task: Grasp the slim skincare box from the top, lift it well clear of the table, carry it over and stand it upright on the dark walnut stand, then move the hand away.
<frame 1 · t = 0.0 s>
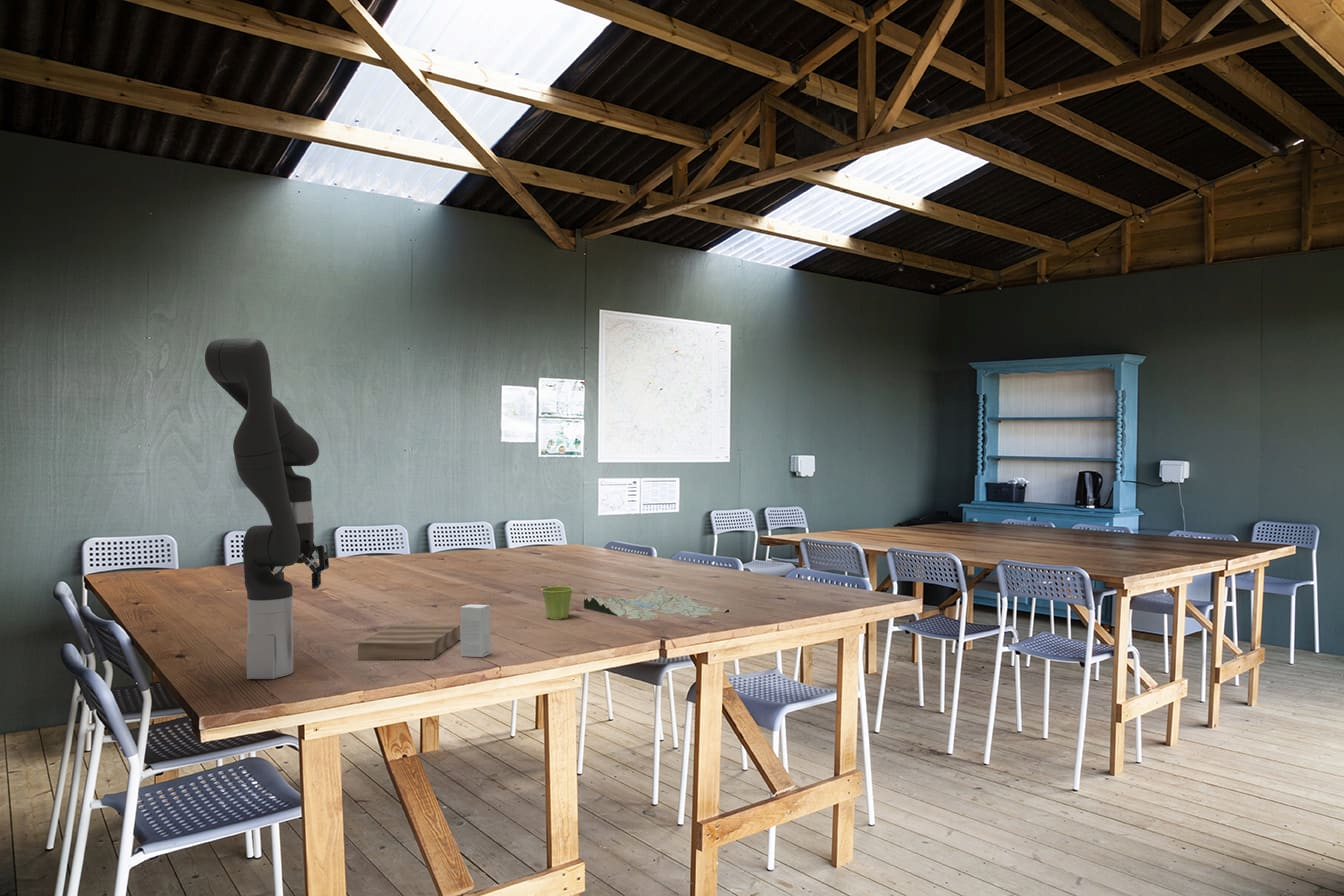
hand: (298, 588, 210), 17 cm above the table, tool pointing down, fingers open, 8 cm apart
topographic map model: (655, 612, 272), on the table
skincare box: (475, 656, 213), on the table
plant pot: (557, 618, 260), on the table
walnut stand: (411, 649, 220), on the table
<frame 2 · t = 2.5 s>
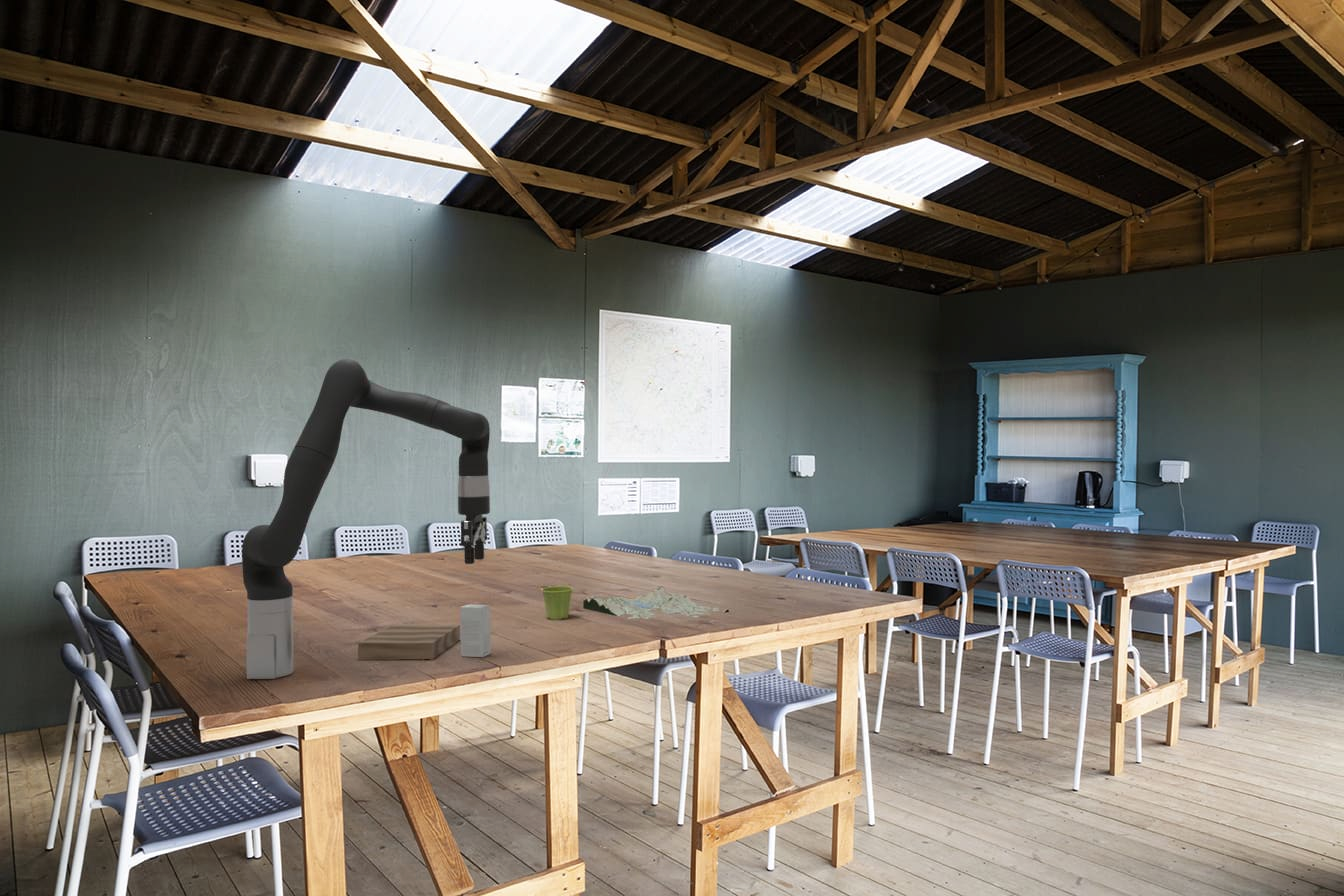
hand: (474, 561, 213), 23 cm above the table, tool pointing down, fingers open, 8 cm apart
nothing on the table moved.
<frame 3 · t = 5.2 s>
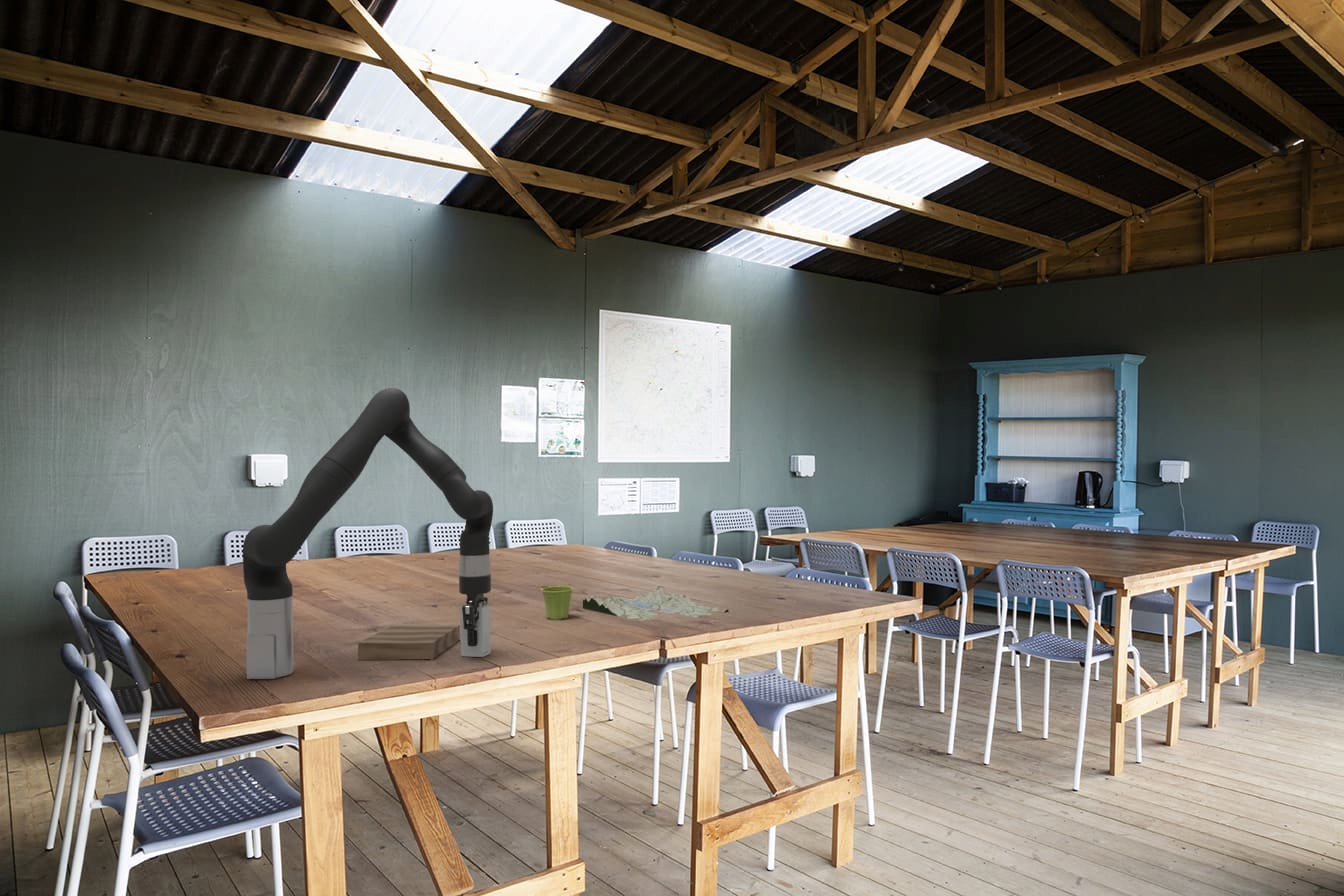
hand: (475, 643, 213), 3 cm above the table, tool pointing down, fingers closed on skincare box, 4 cm apart
skincare box: (475, 655, 213), on the table, touching gripper
everything else where it was.
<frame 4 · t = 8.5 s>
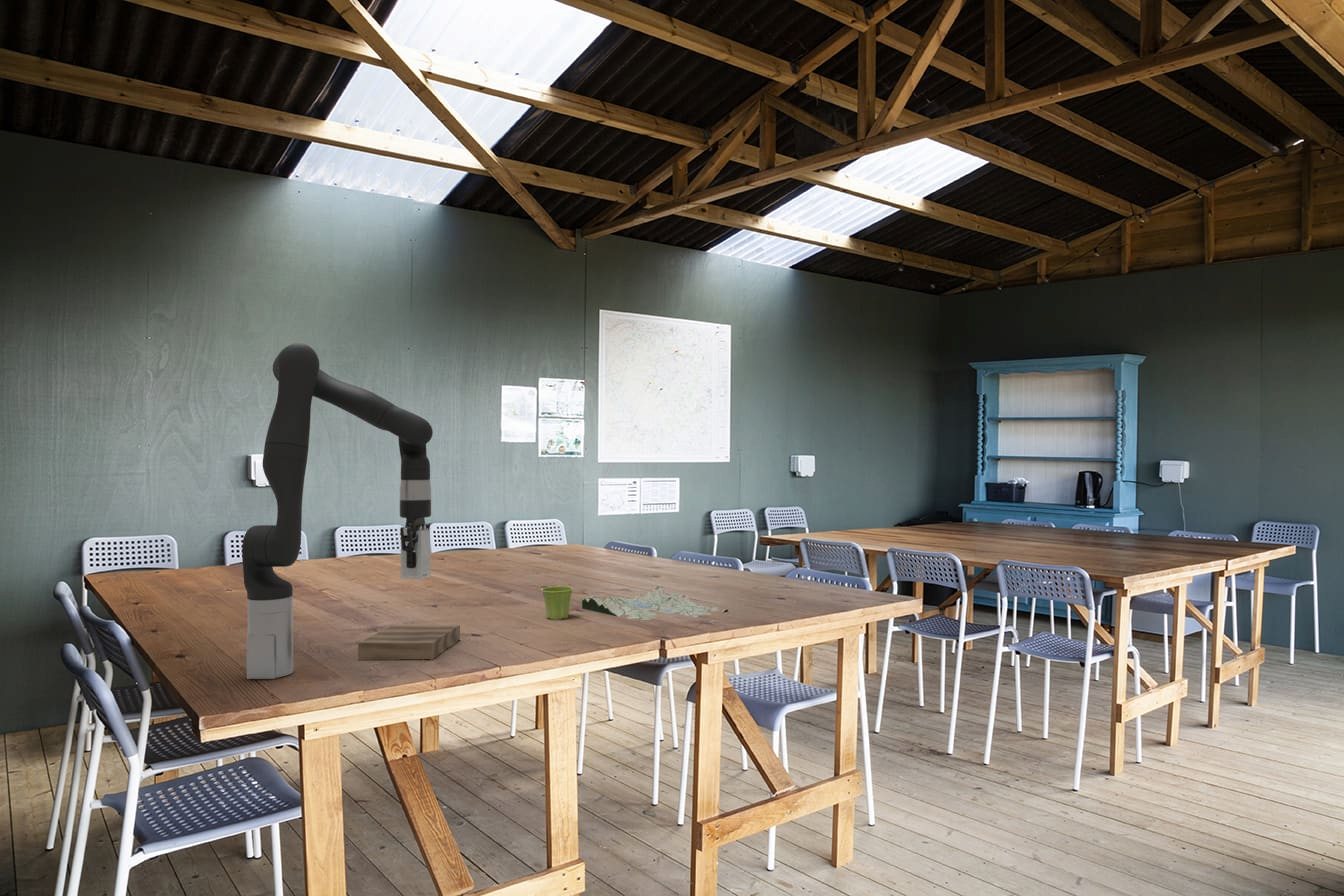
hand: (415, 566, 219), 21 cm above the table, tool pointing down, fingers closed on skincare box, 4 cm apart
skincare box: (415, 578, 219), point 18 cm above the table, touching gripper
everything else where it was.
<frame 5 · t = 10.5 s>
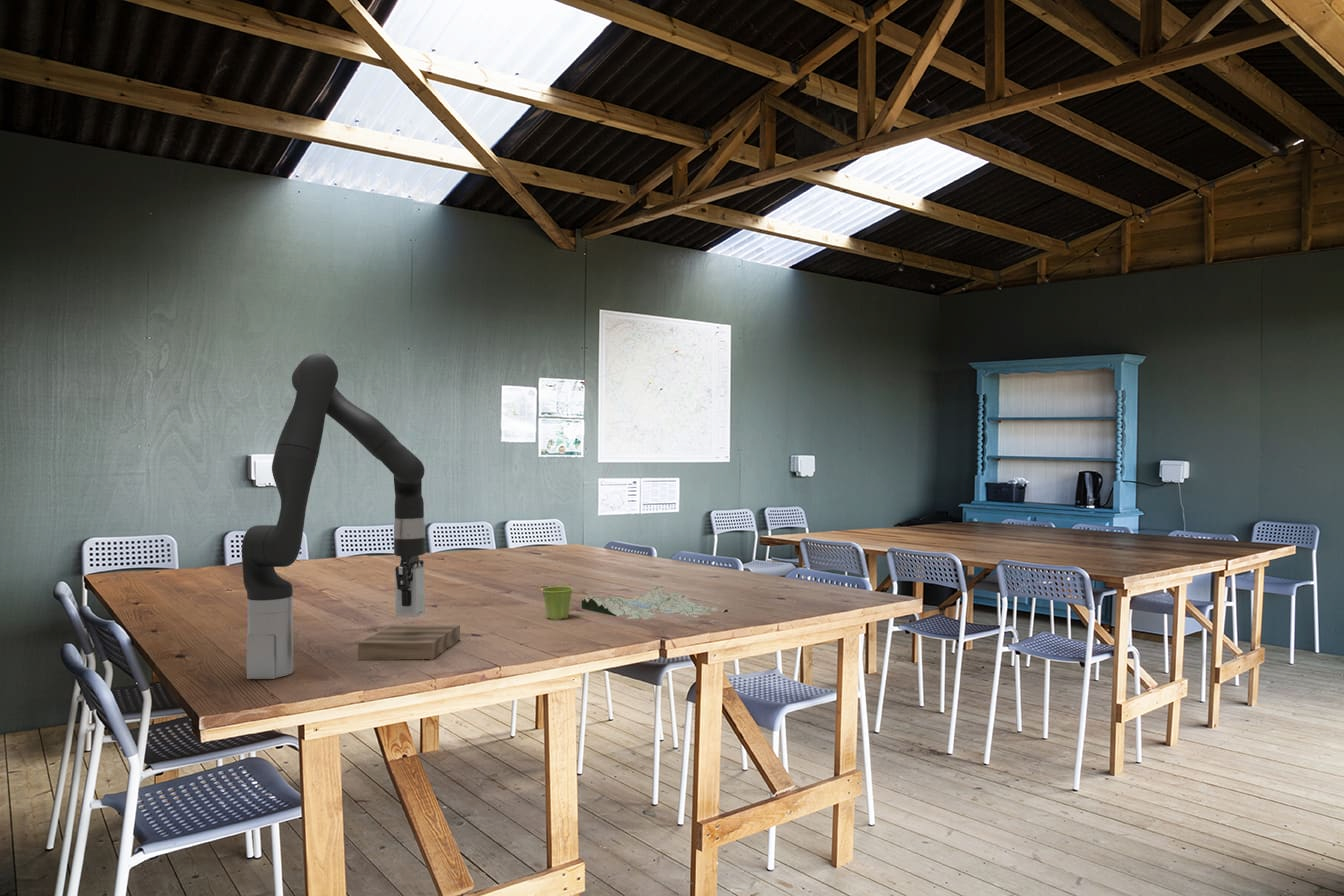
hand: (410, 603, 220), 11 cm above the table, tool pointing down, fingers closed on skincare box, 4 cm apart
skincare box: (410, 616, 220), point 8 cm above the table, touching gripper
everything else where it was.
when the fingers open (8 cm above the table, at t = 12.0 s): skincare box drops 1 cm, resting on walnut stand.
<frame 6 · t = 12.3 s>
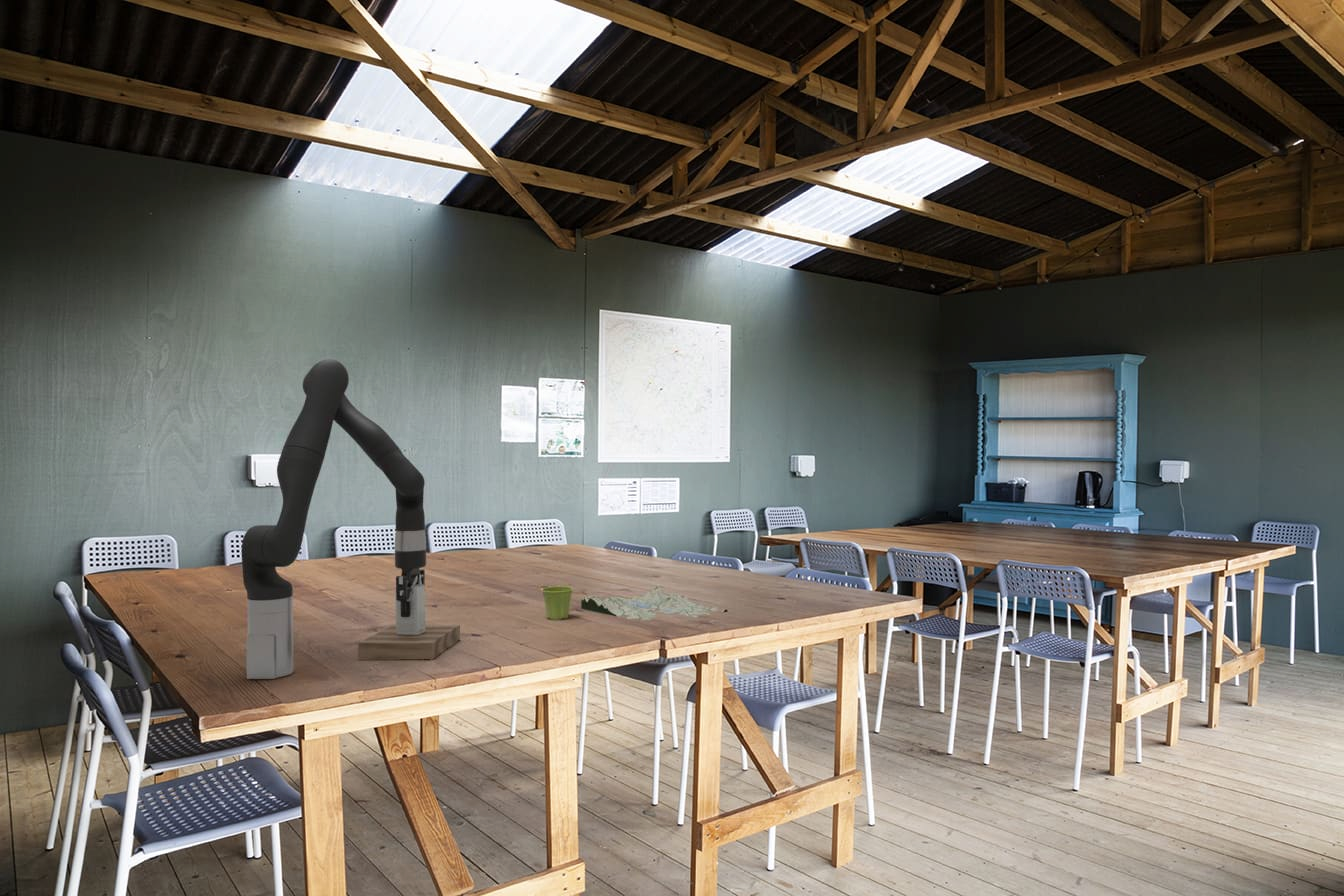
hand: (411, 614, 220), 9 cm above the table, tool pointing down, fingers open, 7 cm apart
skincare box: (410, 634, 220), point 4 cm above the table, touching walnut stand
everything else where it was.
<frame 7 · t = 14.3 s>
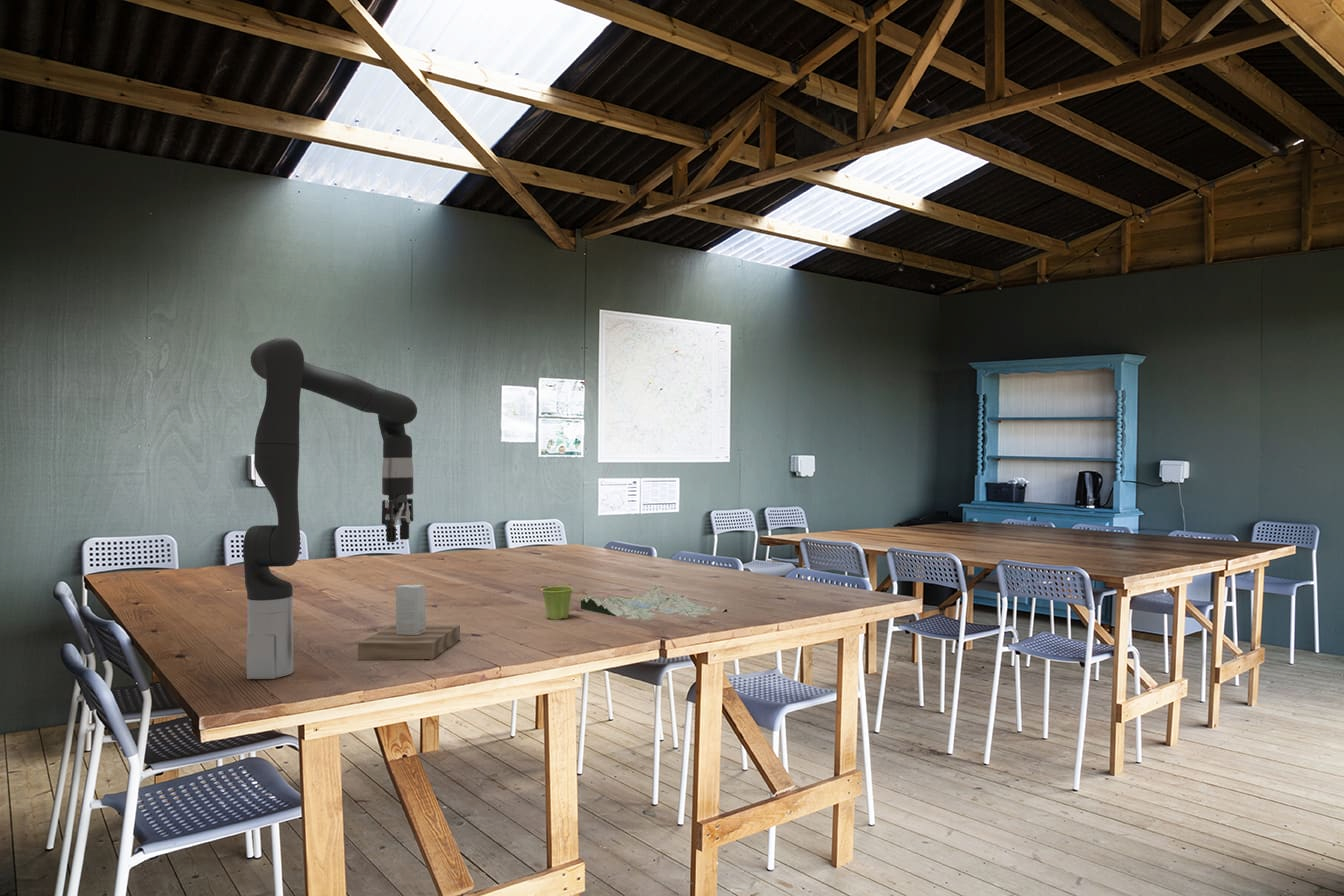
hand: (398, 540, 221), 27 cm above the table, tool pointing down, fingers open, 8 cm apart
nothing on the table moved.
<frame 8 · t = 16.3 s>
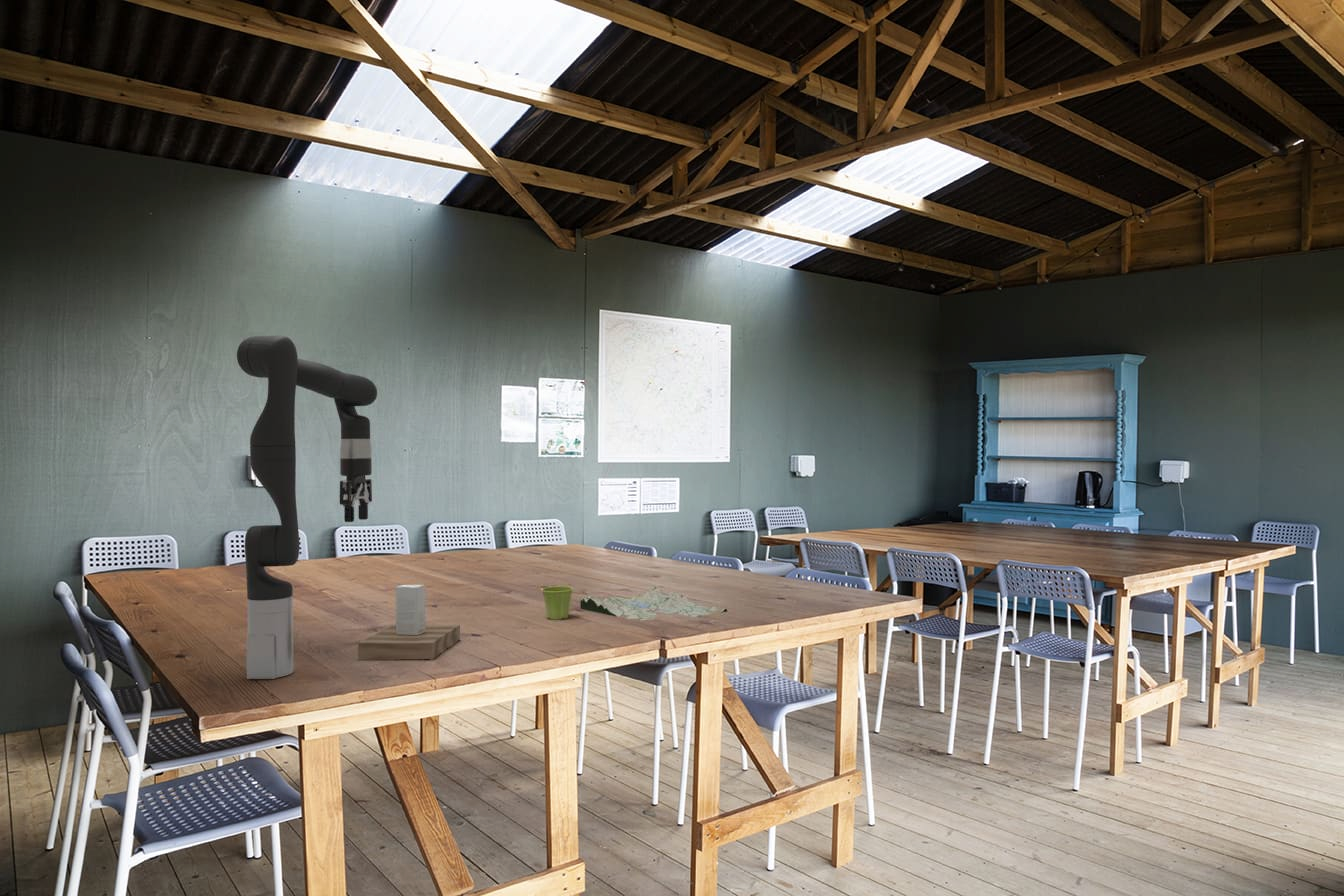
hand: (356, 520, 224), 32 cm above the table, tool pointing down, fingers open, 8 cm apart
nothing on the table moved.
at the end: skincare box inside the target area on the walnut stand (0.1 cm from its centre), point 3.8 cm above the walnut stand's base; skincare box tilted 0°; the gripper is holding nothing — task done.
